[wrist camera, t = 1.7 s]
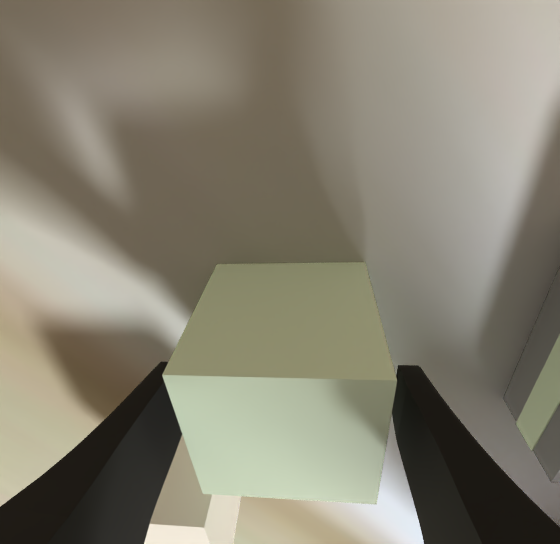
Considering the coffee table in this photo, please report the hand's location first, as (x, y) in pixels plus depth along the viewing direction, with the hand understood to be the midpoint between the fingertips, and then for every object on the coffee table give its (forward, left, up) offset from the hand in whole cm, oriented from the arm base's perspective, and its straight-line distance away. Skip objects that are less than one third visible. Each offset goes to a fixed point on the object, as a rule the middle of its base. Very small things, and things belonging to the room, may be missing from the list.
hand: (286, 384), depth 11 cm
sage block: (0, 0, -4) cm, 3 cm away
